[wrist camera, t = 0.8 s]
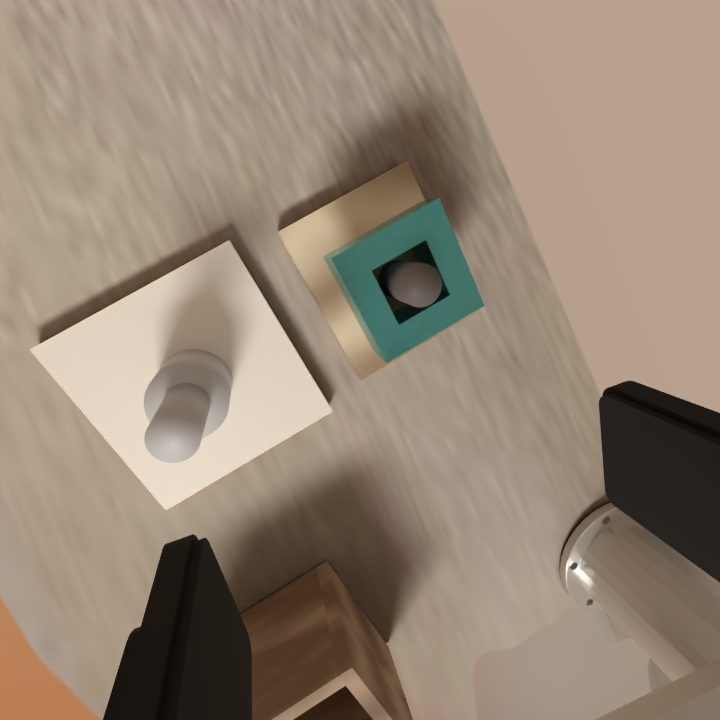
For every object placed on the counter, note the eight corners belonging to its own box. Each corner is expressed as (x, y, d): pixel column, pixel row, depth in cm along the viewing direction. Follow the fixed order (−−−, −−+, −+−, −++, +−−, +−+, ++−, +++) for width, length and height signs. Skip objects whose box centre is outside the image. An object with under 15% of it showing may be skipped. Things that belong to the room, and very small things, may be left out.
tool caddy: (388, 646, 41) (428, 765, 32) (276, 718, 40) (283, 863, 31) (326, 560, 37) (351, 667, 28) (201, 638, 36) (183, 776, 27)
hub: (330, 406, 34) (360, 469, 24) (168, 502, 33) (134, 607, 23) (229, 240, 29) (218, 239, 20) (36, 346, 28) (-72, 398, 19)
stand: (467, 311, 34) (532, 332, 26) (358, 376, 34) (390, 418, 26) (403, 162, 30) (456, 134, 22) (276, 232, 30) (286, 228, 22)
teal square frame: (462, 299, 30) (484, 305, 27) (373, 351, 29) (386, 363, 26) (420, 202, 27) (439, 197, 25) (322, 256, 27) (331, 258, 24)
